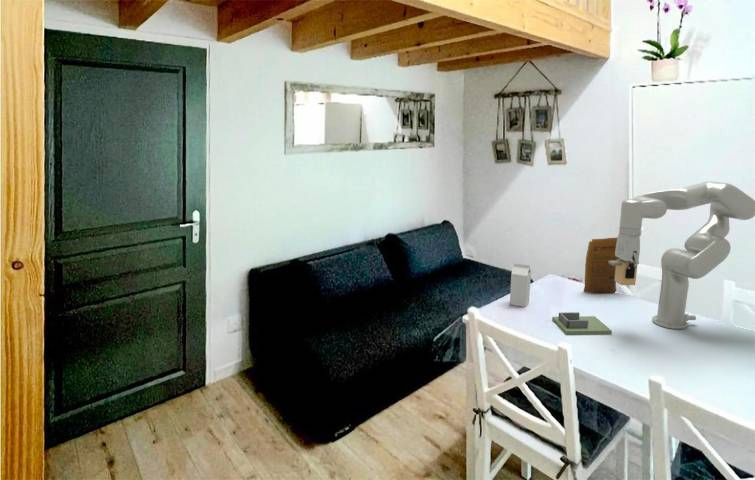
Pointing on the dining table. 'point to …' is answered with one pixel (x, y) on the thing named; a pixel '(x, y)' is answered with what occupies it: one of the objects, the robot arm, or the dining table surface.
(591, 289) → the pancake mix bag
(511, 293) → the milk carton
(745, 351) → the dining table surface
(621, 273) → the tan wooden block
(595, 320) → the green base plate
